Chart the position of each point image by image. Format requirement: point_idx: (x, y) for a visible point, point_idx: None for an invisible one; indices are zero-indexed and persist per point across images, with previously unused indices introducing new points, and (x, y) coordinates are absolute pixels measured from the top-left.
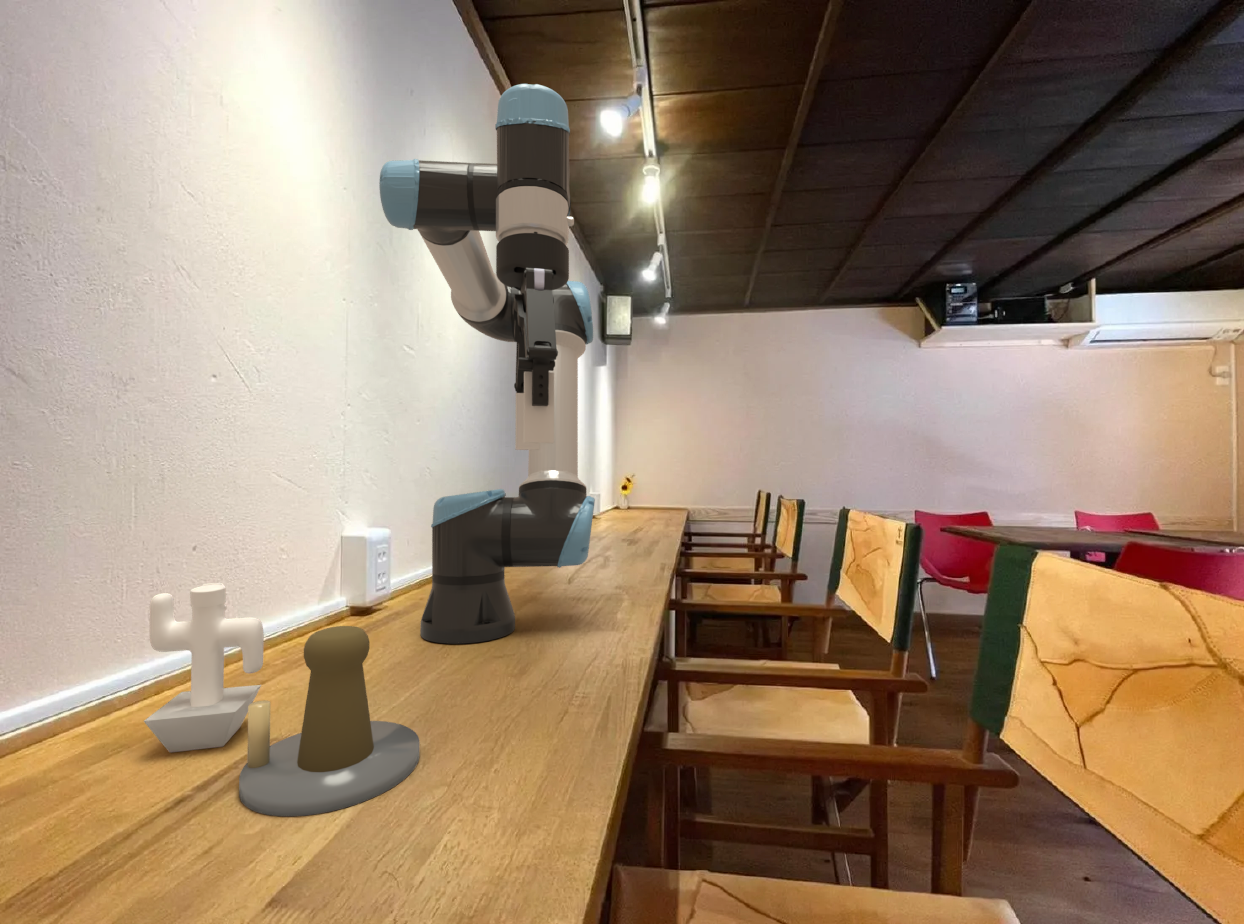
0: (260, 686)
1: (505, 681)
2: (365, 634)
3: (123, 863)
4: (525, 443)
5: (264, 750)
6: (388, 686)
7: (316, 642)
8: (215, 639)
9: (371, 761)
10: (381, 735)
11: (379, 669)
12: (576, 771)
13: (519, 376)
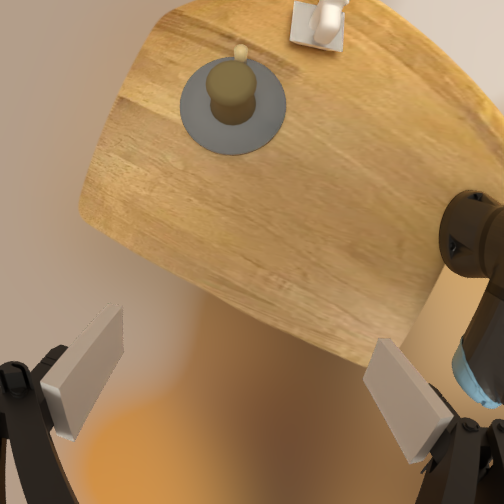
0: (340, 51)
1: (341, 236)
2: (227, 101)
3: (178, 34)
4: (376, 362)
5: None
6: (369, 144)
7: (214, 67)
8: (320, 7)
9: (212, 124)
10: (251, 130)
11: (410, 143)
12: (170, 246)
13: (448, 460)
